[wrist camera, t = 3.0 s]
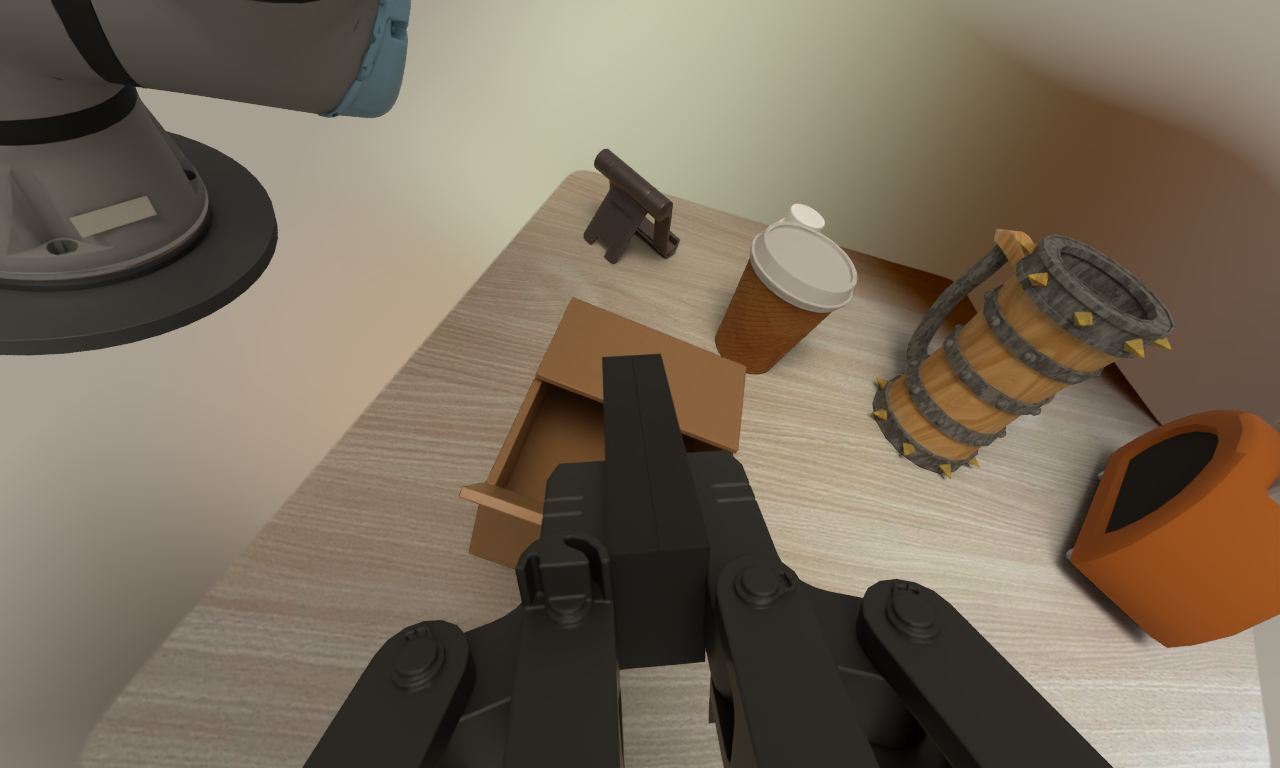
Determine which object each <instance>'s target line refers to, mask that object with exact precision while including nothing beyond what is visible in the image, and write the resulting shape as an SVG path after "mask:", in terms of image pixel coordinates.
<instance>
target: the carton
mask: <svg viewBox="0 0 1280 768" xmlns="http://www.w3.org/2000/svg"><path fill="white" fill-rule="evenodd" d="M644 354H661V356H662V360H663V363H664V367H665V371H666V375H667V379H668V383H669V387H670V391H671V395H672V399H673V403H674V407H675V411H676V415H677V418H678V422H679V426H680V430H681V434H682V438H683V442H684V446H685V450H686V453H695V452H709V451H723V450H727V451H728V452H729V453H730V454H731V455H732V456H733V453H735V454H736V452H737V451H738V446H739V436H740V426H741V416H742V406H743V396H744V385H745V375H746V366H744V365H741V364H739V363H736V362H734V361H731V360H729V359H726V358H724V357H721V356H719V355H716V354H714V353H711V352H709V351H706V350H704V349H701V348H699V347H696V346H694V345H691V344H689V343H686V342H684V341H681V340H679V339H676V338H674V337H671V336H669V335H666V334H664V333H661V332H659V331H656V330H654V329H651V328H649V327H646V326H644V325H641V324H639V323H636V322H634V321H631V320H629V319H626V318H624V317H621V316H619V315H616V314H614V313H611V312H609V311H606V310H604V309H601V308H599V307H596V306H594V305H591V304H589V303H586V302H584V301H581V300H579V299H576V298H574V297H572V299H571V301H570V303H569V305H568V307H567V309H566V311H565V314H564V316H563V318H562V320H561V322H560V324H559V326H558V328H557V331H556V333H555V335H554V337H553V339H552V341H551V343H550V345H549V348H548V350H547V352H546V354H545V356H544V358H543V360H542V362H541V365H540V367H539V369H538V371H537V373H536V376H535V379H534V381H533V383H532V385H531V387H530V389H529V391H528V394H527V396H526V398H525V400H524V402H523V404H522V406H521V408H520V411H519V413H518V415H517V417H516V419H515V421H514V423H513V426H512V428H511V430H510V432H509V434H508V436H507V438H506V440H505V443H504V445H503V447H502V449H501V451H500V453H499V455H498V458H497V460H496V462H495V464H494V466H493V468H492V470H491V472H490V475H489V477H488V479H487V481H486V482H487V483H490V484H492V485H495V486H498V487H501V488H504V489H506V490H509V491H512V492H515V493H518V494H521V495H523V496H526V497H529V498H532V499H535V500H537V501H540V502H543V503H545V491H546V482H547V479H548V478H549V477H550V475H551V474H552V472H553V471H554V470H555V468H556V467H557V465H558V464H562V463H577V462H591V461H605V438H604V405H603V373H602V357H612V356H628V355H644ZM540 532H541V526H540V525H537V524H535V523H532V522H529V521H526V520H523V519H520V518H517V517H515V516H512V515H509V514H506V513H503V512H500V511H497V510H495V509H492V508H489V507H486V506H483V505H480V504H479V507H478V511H477V516H476V521H475V525H474V530H473V534H472V539H471V544H470V548H469V553H470V554H473V555H475V556H478V557H481V558H484V559H487V560H490V561H493V562H496V563H499V564H502V565H505V566H508V567H511V568H514V569H515V567H516V565H517V563H518V560H519V558H520V555H521V554H522V553H523V552H524V551H525V550H526V549H527V548H528V547H529V545H530V544H531V543H532V542H534V541H536V540H538V539H540Z"/></svg>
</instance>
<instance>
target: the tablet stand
mask: <svg viewBox="0 0 1280 768" xmlns="http://www.w3.org/2000/svg"><path fill="white" fill-rule="evenodd" d="M594 166H595V168H596V169H597V170H598V171H599V172H601V173H602V174H603V175H604V176H605V177H607V178H608V179H609V180H610V190H609V192H608V194H607V195H606V197H605V199H604V200H603V202H602V204H601V206H600V207H599V209H598V211H597V212H596V214H595V216H594V217H593V219H592V221H591V222H590V224H589V226H588V227H587V229H586V231H585V232H584V238H585V240H586V241H588V242H589V243H590V244H591V245H592V244H593V242H594V241H595V240H596V239H597V238H598V237H599V236H600V237H601V238H603V239H604V240H605V241H606V242H607V243H608V245H609V247H608V249H607V252H606V254H605V256H604V257H605V258H606V259H607V260H608V261H610V262H611V263H615V262H616V261H617V260H618V258H619V257H620V255H621V254H622V252H623V250H624V249H625V247H626V246H627V244H628V243H629V241H630V239H631V238H632V236H633V235H634V233H635V232H637V233H639V234H640V235H641V236H642V237H643V238H644V239H645V240H647V241H648V242H649V243H650V244H651V245H652V246H653V247H655V249H656V250H657V251H658V252H659V253H660V254H663V255H664V256H665V257H666V258H668V257H670V256H671V255H672V254H673V253H674V252H675V250H676V249H677V247H678V244H679V241H680V239H679V238H678V237H676V236H675V235H674V234H673V233H672V232H671V231H670V225H671V217H672V208H673V203H672V202H671V201H670V200H669V199H668V198H666V197H665V196H664V195H663V194H662V193H660V192H659V191H658V190H657V189H656V188H655V187H653V186H652V185H651V184H650V183H648V182H647V181H646V180H645V179H643V178H642V177H641V176H640V175H639V174H638V173H636V172H635V171H634V170H633V169H632V168H631V167H629V166H628V165H627V164H626V163H624V162H623V161H622V160H621V159H620V158H618V157H617V156H616V155H615V154H614V153H612V152H611V151H610V150H609V149H604V150H602V151H601V152H600V153H599V154H598V155H597V157H596V159H595V162H594ZM647 213H649V214H650V215H651V216H652V217H653V218H655V223H654V224H653V223H651V222H650V221H649V220H648V219H647V218H646V217H645V216H646V214H647Z"/></svg>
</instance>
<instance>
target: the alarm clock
mask: <svg viewBox="0 0 1280 768" xmlns="http://www.w3.org/2000/svg"><path fill="white" fill-rule="evenodd" d="M1098 479H1099V480H1100V483H1099V486H1098V488H1097V491H1096V493H1095V496H1094V498H1093V501H1092V504H1091V506H1090V509H1089V511H1088V514H1087V516H1086V519H1085V521H1084V524H1083V526H1082V529H1081V531H1080V534H1079V537H1078V539H1077V542H1076V544H1075V547H1074V548H1072V549H1070V550H1068V551H1067V553H1066V558H1067V559H1068V560H1069V561H1070V562H1071V563H1072V564H1073V565H1074V566H1075V567H1076V568H1077V569H1078V570H1079V571H1080V572H1081V573H1083V574H1084V575H1085V576H1086V577H1087V578H1088V579H1089V580H1090V581H1091V582H1092V583H1093V584H1094V585H1095V586H1097V587H1098V588H1099V589H1100V590H1101V591H1102V592H1103V593H1104V594H1105V595H1106V596H1107V597H1108V598H1110V599H1111V600H1112V601H1113V602H1114V603H1115V604H1116V605H1117V606H1118V607H1119V608H1120V609H1121V610H1122V611H1124V612H1125V613H1126V614H1127V615H1128V616H1129V617H1130V618H1131V619H1132V620H1133V621H1134V622H1135V623H1137V624H1138V625H1139V626H1140V627H1141V628H1142V629H1143V630H1144V631H1145V632H1146V633H1147V634H1148V635H1150V636H1151V637H1152V638H1153V639H1155V640H1156V641H1158V642H1159V643H1161V644H1162V645H1164V646H1165V647H1167V648H1170V647H1180V646H1190V645H1196V644H1201V643H1205V642H1209V641H1213V640H1217V639H1221V638H1225V637H1229V636H1233V635H1235V634H1238V633H1240V632H1242V631H1244V630H1246V629H1248V628H1251V627H1253V626H1255V625H1257V624H1259V623H1261V622H1263V621H1265V620H1268V619H1270V618H1272V617H1274V616H1276V615H1278V614H1280V423H1278V424H1276V425H1274V426H1270V425H1269V424H1267V423H1266V422H1265V421H1263V420H1262V419H1261V418H1259V417H1258V416H1257V415H1254V414H1251V413H1246V412H1242V411H1237V410H1213V411H1208V412H1204V413H1200V414H1195V415H1191V416H1187V417H1184V418H1181V419H1178V420H1176V421H1173V422H1170V423H1167V424H1165V425H1162V426H1160V427H1158V428H1156V429H1154V430H1152V431H1150V432H1148V433H1146V434H1144V435H1142V436H1140V437H1138V438H1136V439H1134V440H1133V441H1131V442H1129V443H1128V444H1126V445H1124V446H1122V447H1121V448H1119V449H1118V450H1117V451H1116V452H1115V453H1114V454H1112V455H1111V456H1110V458H1109V460H1108V463H1107V465H1106V468H1105V470H1104V471H1102V472H1100V473H1099V474H1098Z"/></svg>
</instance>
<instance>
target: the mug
mask: <svg viewBox="0 0 1280 768" xmlns="http://www.w3.org/2000/svg"><path fill="white" fill-rule="evenodd" d="M994 241H995V242H996V243H997V245H996V246H995V247H994V248H993V249H992V250H991V251H990V252H989V253H988V254H987V255H986V256H985V257H984V258H982V259H981V260H980V261H979V262H978V263H977V264H976V265H974V266H973V267H972V268H971V269H969V270H968V271H967V272H966V273H964V274H963V275H962V276H960V277H959V278H958V279H957V280H956V281H955V282H954V283H953V284H952V285H951V286H949V287H948V288H947V289H946V290H945V291H944V292H943V293H942V294H941V295H940V296H939V298H938V299H937V300H936V302H935V303H934V304H933V306H932V307H931V308H930V309H929V311H928V312H927V313H926V315H925V316H924V318H923V319H922V321H921V323H920V324H919V326H918V327H917V329H916V331H915V332H914V334H913V336H912V338H911V340H910V342H909V344H908V350H907V360H908V366H909V367H908V370H907V373H905V374H904V373H903V375H898V376H897V377H895V378H893V379H892V380H890V381H885V380H882V379H879V378H877V377H876V379H877V381H878V383H879V385H880V388H881V389H880V390H879V391H877V393H876V396H875V399H874V402H873V408H874V412H872V413H873V414H875V419H876V421H877V423H878V425H879V426H880V428H881V430H882V432H883V434H884V435H885V437H886V438H887V439H888V440H889V442H890V443H891V444H892V445H893V446H894V447H895V448H896V449H897V450H898V451H899V452H900V453H901V454H902V455H903V456H905V457H906V458H908V459H909V460H911V461H912V462H914V463H915V464H917V465H918V466H920V467H922V468H925V469H928V470H931V471H934V472H937V473H944V474H945V475H947V476H948V477H949V478H950V479H951V472H954V471H956V470H957V469H958V468H959V467H960V466H961V465H962V464H967V463H970V464H972V465H975V466H978V467H979V465H978V462H977V460H976V458H975V456H976V455H977V454H978V449H979V448H980V447H981V446H989V445H990V444H991V443H992V442H993V441H994V440H995V439H996V438H997V437H999V438H1003V437H1004V436H1005V435H1006V431H1005V429H1006V426H1007V425H1008V424H1010V423H1011V422H1012V421H1014V420H1015V419H1016V418H1018V417H1019V416H1020V415H1029V414H1031V415H1034V416H1035V415H1039V414H1040V413H1041V408H1040V407H1041V406H1042V405H1043V404H1044V403H1045V402H1046V401H1047V400H1048V399H1049V397H1050V396H1051V395H1053V394H1055V393H1056V392H1058V391H1060V390H1062V389H1063V388H1065V387H1067V386H1068V385H1070V384H1076V383H1077V384H1078V383H1080V382H1082V381H1085V380H1087V379H1090V378H1092V377H1093V378H1095V377H1098V376H1099V375H1100V374H1101V371H1102V370H1103V369H1104V366H1106V365H1108V364H1110V363H1112V362H1114V361H1116V360H1118V359H1120V358H1134V357H1136V356H1140V357H1142V358H1144V348H1145V347H1147V346H1148V345H1152V346H1156V347H1161V348H1165V349H1170V350H1171V347H1170V345H1169V343H1168V341H1167V338H1166V337H1167V336H1168V335H1170V334H1171V333H1172V331H1173V330H1174V329H1175V328H1176V327H1175V324H1174V321H1173V319H1172V316H1171V313H1170V312H1169V311H1168V310H1167V308H1166V307H1165V306H1164V304H1163V303H1162V302H1161V301H1160V299H1159V298H1158V297H1157V296H1156V295H1155V294H1154V293H1153V292H1152V291H1151V290H1150V289H1149V288H1148V287H1147V286H1146V285H1145V284H1143V283H1142V282H1141V281H1140V280H1139V279H1138V278H1137V277H1135V276H1134V275H1133V274H1132V273H1130V272H1129V271H1128V270H1126V269H1125V268H1124V267H1122V266H1121V265H1120V264H1118V263H1117V262H1116V261H1114V260H1112V259H1111V258H1109V257H1107V256H1106V255H1104V254H1102V253H1101V252H1099V251H1097V250H1096V249H1094V248H1092V247H1091V246H1089V245H1086V244H1084V243H1082V242H1079V241H1077V240H1075V239H1072V238H1070V237H1065V236H1060V235H1055V234H1052V235H1050V236H1048V237H1045V238H1043V239H1042V240H1041V241H1040V242H1039V243H1038V244H1034V243H1033V242H1032V240H1031V239H1030V237H1029V236H1028V235H1026V234H1025V233H1023V232H1020V231H1011V230H1000V229H997V230H996V234H995V238H994ZM1008 260H1009V262H1010V264H1011V266H1012V268H1013V270H1014V274H1013V275H1012V277H1011V278H1010V279H1009V280H1008V281H1007V282H1006V283H1005V284H1004V285H1001V286H999V287H997V288H996V289H994V291H988V292H987V293H985V295H984V299H985V300H986V301H985V303H984V308H983V309H982V310H981V311H979V312H978V313H977V314H976V315H975V316H974V317H973V318H972V319H971V320H970V321H969V322H968V323H967V324H964V325H961V324H958V325H956V326H955V328H954V330H955V331H954V332H953V333H951V334H950V335H949V336H948V337H947V338H946V340H945V341H944V343H943V344H944V345H943V346H942V347H940V348H939V349H938V350H937V351H935V352H934V353H933V354H932V355H929V356H927V348H928V345H929V343H930V341H931V339H932V337H933V336H934V334H935V332H936V331H937V329H938V328H939V326H940V325H941V323H942V322H943V320H944V319H945V318H946V317H947V315H948V314H949V313H950V312H951V310H952V309H953V308H954V306H955V305H956V304H957V303H958V302H959V301H960V300H962V299H963V298H964V297H965V296H966V295H967V294H968V293H969V292H971V291H972V290H973V289H974V288H975V287H977V286H978V285H979V284H980V283H982V282H983V281H985V280H986V279H987V278H989V277H990V276H991V275H992V274H994V273H995V272H996V271H997V270H998V269H1000V268H1001V267H1002V266H1003V265H1004V264H1005V263H1006V262H1007V261H1008Z"/></svg>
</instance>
